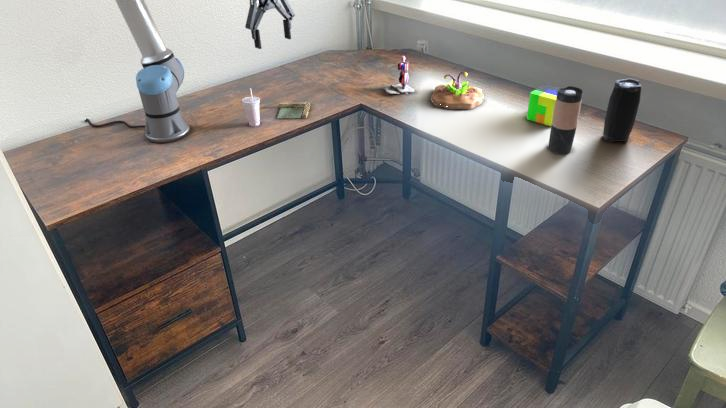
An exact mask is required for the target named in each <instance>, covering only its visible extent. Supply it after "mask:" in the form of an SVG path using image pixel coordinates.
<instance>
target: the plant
mask: <svg viewBox="0 0 726 408" xmlns="http://www.w3.org/2000/svg"><path fill="white" fill-rule="evenodd" d="M462 75H463V76H464V77H468V73H467V72H466V71H461V72H460V73H459V74H458V75H457V78H455V76H453V75H451V74H449V73H448V74H445V75H444V76H443V79H444V80H446V79H447V78H448V77H450V78H451V80H450V82H447V84H440V85H437V86H435V88H434V90H433V92H432V94H431V95H430V101H431V103H432V104H433V105H434V106H435V107H439V108H440V107H441V108H445V109H447V110H473V109H475V107H479V106H480V105H481V104H482V103H483V101H484V98H485V95H484V93H483V89H482V88H479V87H476V86H474V85H471V84H469V81H464V82H462V83H461V76H462ZM431 99H432V100H431ZM482 99H483V100H482ZM432 101H433V102H432ZM440 104H441V105H440ZM446 106H448V107H446Z"/></svg>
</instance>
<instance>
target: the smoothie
mask: <svg viewBox="0 0 726 408" xmlns="http://www.w3.org/2000/svg"><path fill="white" fill-rule="evenodd" d="M249 93H250V96H247V97H244V98H242V99H241V104H242V105H243V109H244V111H245V115H246V118H247V122H248V124H249V126H250V127H259V126H260V124H261V121H260V119H261V118H260V102H261V99H260V97H259V96H255V95H253V92H252V88H251V87H249Z"/></svg>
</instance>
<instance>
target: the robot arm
mask: <svg viewBox="0 0 726 408" xmlns="http://www.w3.org/2000/svg"><path fill="white" fill-rule="evenodd" d="M114 1H115V3H116V5H117V6H118V9H119V11H120V13H121V15H122V17H123V19H124V21H125V23H126V25H127V27H128V30H129V32H130V34H131V36H132V37H133V40H134V42H135V43H136V46H137V48H138V51H139V52H140V54H141V56H142V57H141V59H140V64H141V66H142V68H141V69H140V70H138V72H137V73H136V75H135V82H136V83H135V84H136V88H137V90H138V93H139V97H140V100H141V104H142V107H143V111H144V114H145V124H139V125H130V124H129V123H128V122H127V121H125V120H114V121H110V122H105V123H102V124H93V123H92V122H91V121H90V119H89V118H85V119H86V120H85V119H84V123H88V125H89V126H90V127H93V128H103V127H107V126H110V125H114V124H124V125H125V126H126V127H128V128H130V129H139V128H140V129H141V128H142V129H143V128H144V135H145V139H146V140H147V141H148V142H150V143H155V144H166V143H167V144H169V143H172V142H176V141H179V140H181V139H183V138H185V137H187V136H188V135H189V133H190V132H191V128H190V125H189V123H188V121H187V119H186V118H185V116H184V115H183V113H182V111H181V108H180V105H179V101H178V96H177V93H178V91H179V89H180V87H181V86H182V84H183V82H184V79H185V68H184V65H183V63H182V62H181V60H179V58H177V57H175V55H174V52H173V50H172V49H169V48H167V47H166V45H165V43H164V41H163V38H162V37H161V34H160V32H159V29H158V27H157V26H156V23H155V21H154V18H153V17H152V15H151V12H150V10H149V8H148V6H147V3H146V2H145V0H114ZM279 2H280V3H279ZM274 9H275V10H276V11H277V12H278V13H279V14H280V15H281V16H282V17H283V18H284V19H282V24H283V33H284V34H283V36H284V39H287V40H292V33H291V30H292V21H293V20H294V18H295V17H296V14H295V12H294V10H293V8H292V6H291V4H290V3H289V1H288V0H249V9H248V11H247V12H248V13H247V17H246V22H245V25H244V27H245V29H247V30H250V33H251V38H252V40H253V42H254V48H256V49H258V50H262V49H263V47H262V41H261V35H260V29H258V28H259V25H260V23H261V21H262V19H263V16H264V14H265V13H266V12H267V11H270V10H274Z"/></svg>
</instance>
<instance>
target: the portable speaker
mask: <svg viewBox="0 0 726 408" xmlns="http://www.w3.org/2000/svg"><path fill="white" fill-rule="evenodd" d="M642 88H643V85H642V84H641V81H640V80H638V79H635V78H630V77H629V78H624V79H616V80H615V83H614V86H613V89H612V91H611V93H610V96H609V100H608V103H607V108H606V112H605V117H604V122H603V123H604V124H603V133H602V135H603V139H604V140H605V141H606V142H609V143H612V144H613V143H615V142H624V143H626V142H628V140H629V137H630V135H631V133H632V131H633V127H634V125H635V122H636V118H637V114H638V110H639V107H640V104H641V97H642V96H641V95H642Z"/></svg>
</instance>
